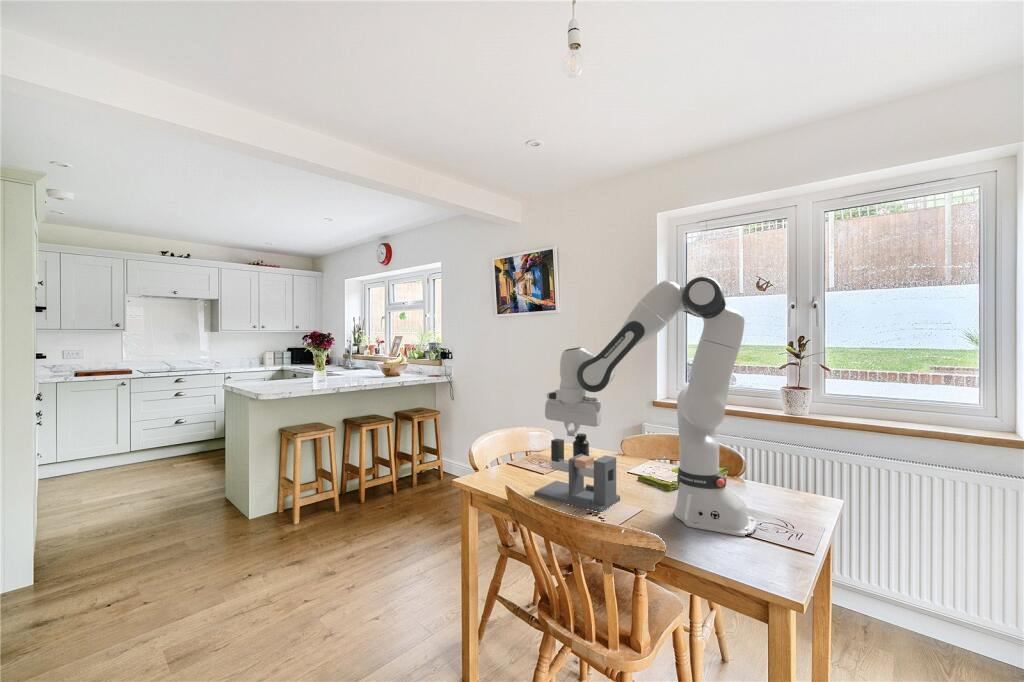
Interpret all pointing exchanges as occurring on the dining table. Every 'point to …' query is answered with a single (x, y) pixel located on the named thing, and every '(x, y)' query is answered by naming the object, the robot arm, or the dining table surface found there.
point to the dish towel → (669, 485)
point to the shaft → (562, 464)
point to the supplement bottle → (580, 445)
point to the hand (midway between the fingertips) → (572, 435)
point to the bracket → (587, 496)
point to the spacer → (584, 462)
